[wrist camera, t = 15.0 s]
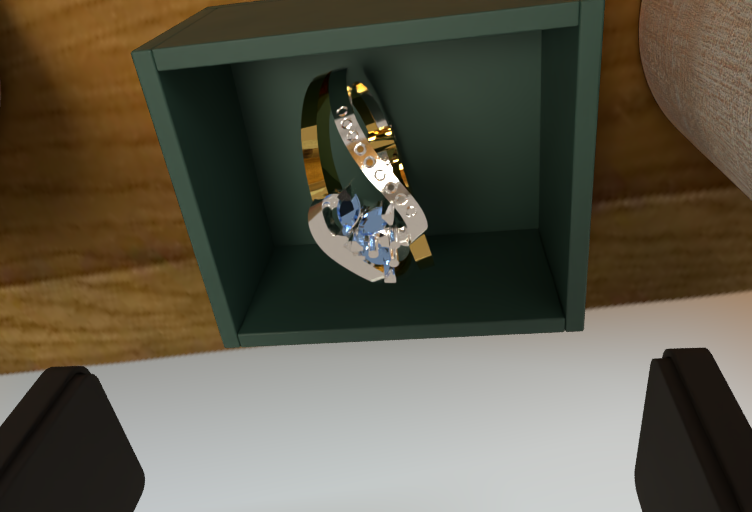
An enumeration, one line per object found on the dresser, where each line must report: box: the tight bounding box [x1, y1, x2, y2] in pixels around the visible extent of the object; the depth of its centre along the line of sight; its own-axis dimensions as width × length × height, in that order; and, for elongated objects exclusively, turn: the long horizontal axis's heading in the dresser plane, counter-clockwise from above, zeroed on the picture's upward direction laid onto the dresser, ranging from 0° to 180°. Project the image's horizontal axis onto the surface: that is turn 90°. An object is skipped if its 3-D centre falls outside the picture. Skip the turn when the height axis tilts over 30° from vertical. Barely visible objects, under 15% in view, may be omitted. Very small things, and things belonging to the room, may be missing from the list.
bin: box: [131, 0, 605, 348], centre depth 21 cm, size 12×10×7 cm
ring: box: [301, 64, 435, 284], centre depth 20 cm, size 7×3×8 cm, turn 19°
